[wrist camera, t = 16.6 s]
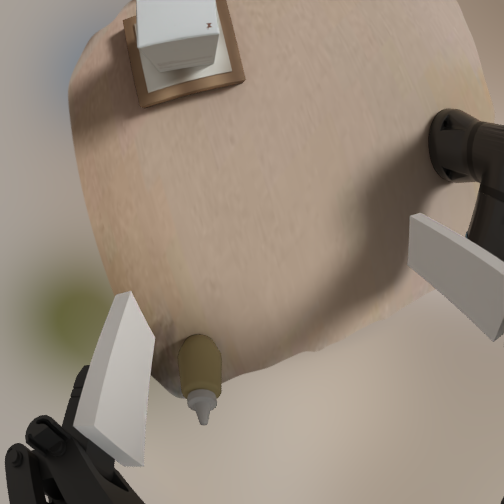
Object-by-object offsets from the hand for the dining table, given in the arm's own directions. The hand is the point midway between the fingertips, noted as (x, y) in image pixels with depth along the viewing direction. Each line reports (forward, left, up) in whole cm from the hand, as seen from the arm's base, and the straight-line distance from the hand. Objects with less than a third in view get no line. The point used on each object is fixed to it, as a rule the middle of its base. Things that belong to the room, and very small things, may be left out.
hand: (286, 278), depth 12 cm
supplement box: (+2, -19, -28) cm, 33 cm away
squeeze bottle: (+13, +30, -31) cm, 45 cm away
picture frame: (+2, -19, -31) cm, 36 cm away
